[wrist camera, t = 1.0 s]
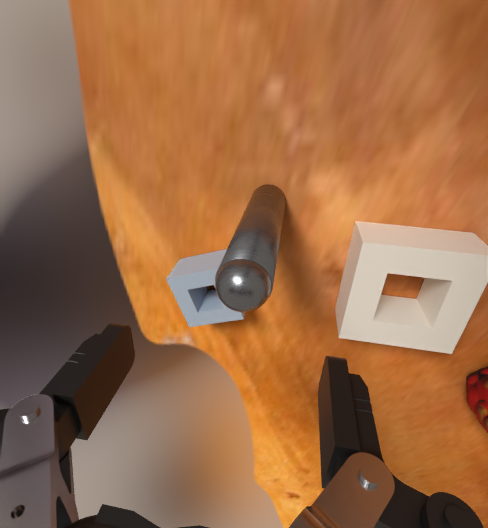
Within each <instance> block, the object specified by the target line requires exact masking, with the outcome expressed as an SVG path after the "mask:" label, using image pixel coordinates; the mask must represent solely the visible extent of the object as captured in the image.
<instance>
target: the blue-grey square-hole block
mask: <svg viewBox="0 0 488 528" xmlns="http://www.w3.org/2000/svg"><path fill="white" fill-rule="evenodd" d="M226 251H227V249H225V250H220V251H215V252H211V253H206V254H201V255H197V256H192V257H187V258H182V259H180V260H179V261H178V263H177V264H176V266H175V267H174V268H173V270H172V271H171V273H170V274H169V276H168V277H167V278H166V279H167V281H168V284H169V286H170V288H171V290H172V292H173V294H174V296H175V298H176V300H177V302H178V304H179V307H180V309H181V311H182V313H183V315H184V317H185V319H186V321H187V323H188V325H189V327H193V326H200V325H207V324H214V323H221V322H228V321H235V320H242V319H244V316H245V312H237V311H233V310H231V309H229V308H228V307H226V306H225V305H224V304H223V303H222V302H221V301H220V299H219V297H218V295H217V293H216V288H215V289H213V290H208V289H207V287H206V286H211V285H214V286H215V276H216V273H217V270H218V268H219V266H220V264H221V262H222V259H223V257H224V255H225V253H226Z"/></svg>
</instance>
